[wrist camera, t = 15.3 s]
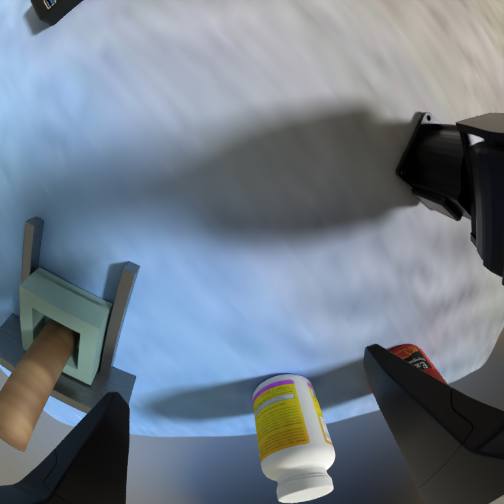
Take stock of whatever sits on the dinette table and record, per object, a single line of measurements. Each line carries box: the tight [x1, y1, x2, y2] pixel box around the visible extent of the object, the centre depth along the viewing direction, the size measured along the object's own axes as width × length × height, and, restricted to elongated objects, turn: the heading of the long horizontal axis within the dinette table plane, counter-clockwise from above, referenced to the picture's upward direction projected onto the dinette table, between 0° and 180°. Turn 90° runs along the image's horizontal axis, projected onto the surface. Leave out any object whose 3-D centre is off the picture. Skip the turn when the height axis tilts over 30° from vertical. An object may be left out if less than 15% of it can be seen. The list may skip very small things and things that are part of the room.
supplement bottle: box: [252, 374, 335, 503], centre depth 22 cm, size 7×7×13 cm
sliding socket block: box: [19, 267, 113, 385], centre depth 20 cm, size 8×8×4 cm
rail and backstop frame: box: [0, 217, 140, 414], centre depth 19 cm, size 14×16×6 cm
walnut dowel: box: [0, 319, 81, 452], centre depth 15 cm, size 4×4×13 cm
